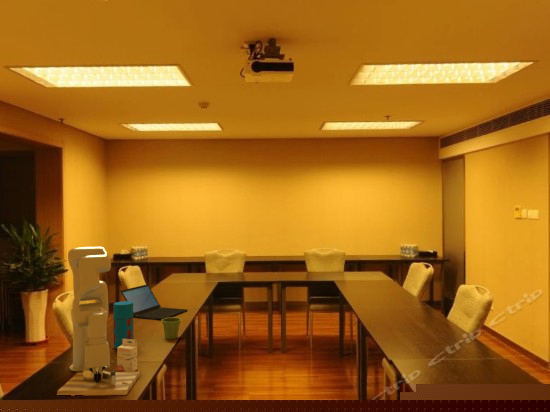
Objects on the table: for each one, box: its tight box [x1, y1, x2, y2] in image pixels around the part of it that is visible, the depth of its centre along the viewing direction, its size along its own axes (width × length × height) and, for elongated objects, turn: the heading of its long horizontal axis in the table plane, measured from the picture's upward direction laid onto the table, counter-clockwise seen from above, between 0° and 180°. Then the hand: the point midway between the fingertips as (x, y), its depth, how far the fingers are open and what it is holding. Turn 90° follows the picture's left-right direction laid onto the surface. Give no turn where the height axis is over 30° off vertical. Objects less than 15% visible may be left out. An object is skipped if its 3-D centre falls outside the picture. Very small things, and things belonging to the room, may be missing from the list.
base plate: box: [56, 371, 141, 397], centre depth 207 cm, size 22×29×2 cm
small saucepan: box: [82, 367, 117, 385], centre depth 208 cm, size 20×9×6 cm, turn 53°
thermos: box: [112, 300, 134, 350], centre depth 265 cm, size 11×11×25 cm
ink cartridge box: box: [116, 339, 138, 372], centre depth 226 cm, size 9×5×15 cm, turn 77°
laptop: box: [120, 284, 188, 321], centre depth 348 cm, size 33×38×19 cm
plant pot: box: [161, 316, 182, 340], centre depth 282 cm, size 12×12×11 cm
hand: (97, 381), depth 203 cm, fingers closed
